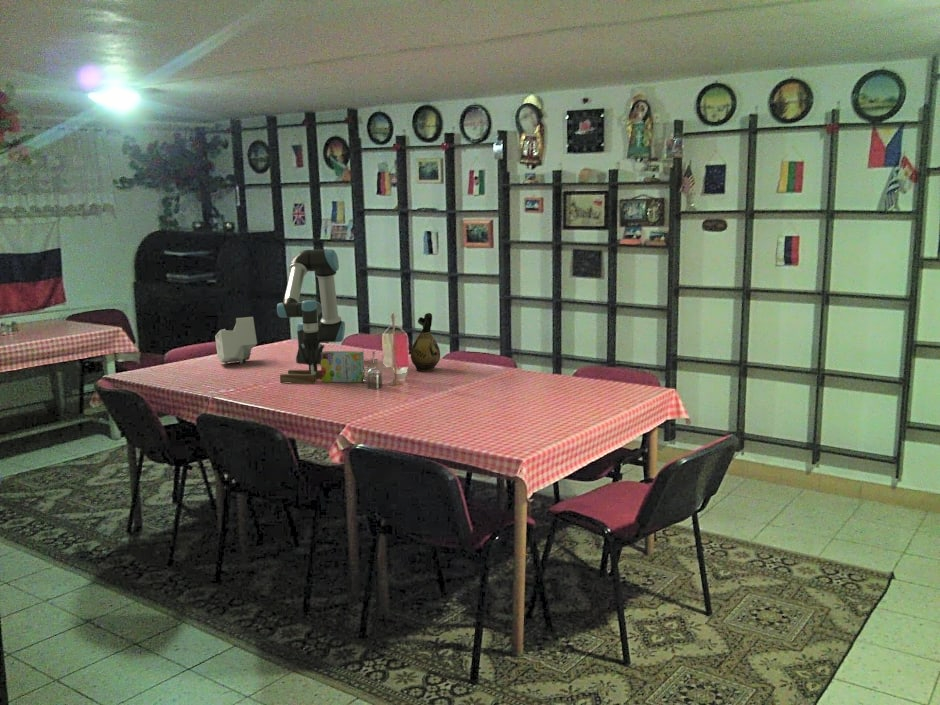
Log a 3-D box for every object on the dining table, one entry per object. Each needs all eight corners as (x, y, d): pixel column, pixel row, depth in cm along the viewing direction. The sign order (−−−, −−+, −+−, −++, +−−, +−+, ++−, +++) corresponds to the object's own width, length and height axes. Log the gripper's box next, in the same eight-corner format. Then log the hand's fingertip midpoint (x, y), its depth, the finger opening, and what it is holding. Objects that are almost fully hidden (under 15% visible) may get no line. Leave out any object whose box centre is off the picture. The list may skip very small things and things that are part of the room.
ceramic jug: (433, 373, 433) (431, 316, 428) (406, 372, 439) (404, 315, 433) (446, 367, 448) (444, 311, 443) (420, 365, 454) (418, 310, 449)
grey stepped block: (222, 363, 462) (216, 319, 465) (217, 369, 476) (211, 326, 479) (259, 359, 471) (253, 316, 474) (253, 365, 485) (246, 323, 488)
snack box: (365, 380, 421) (363, 350, 418) (361, 382, 416) (360, 352, 413) (325, 379, 426) (323, 350, 423) (321, 382, 420) (319, 352, 418)
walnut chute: (290, 377, 434) (289, 369, 433) (323, 377, 431) (323, 370, 430) (280, 382, 421) (279, 375, 421) (314, 383, 418) (314, 375, 417)
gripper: (295, 332, 418) (298, 378, 422) (320, 332, 415) (323, 379, 419) (301, 330, 425) (304, 375, 429) (325, 330, 423) (328, 376, 427)
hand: (313, 377), depth 424 cm, fingers closed
